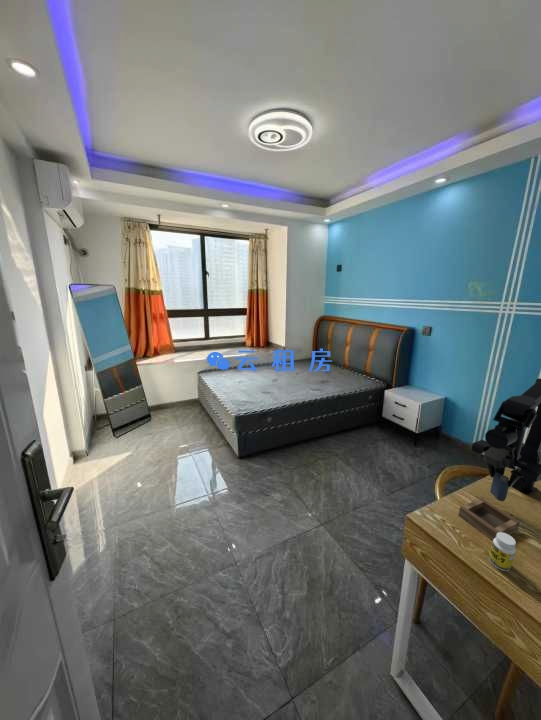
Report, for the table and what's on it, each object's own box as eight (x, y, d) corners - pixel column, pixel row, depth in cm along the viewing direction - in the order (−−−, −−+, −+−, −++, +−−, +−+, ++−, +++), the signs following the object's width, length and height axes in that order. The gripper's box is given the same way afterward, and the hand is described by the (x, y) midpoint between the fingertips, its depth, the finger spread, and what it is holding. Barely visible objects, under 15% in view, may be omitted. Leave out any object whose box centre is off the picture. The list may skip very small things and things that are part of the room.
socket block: (480, 505, 98) (481, 497, 97) (517, 529, 88) (519, 521, 87) (458, 515, 94) (459, 507, 93) (495, 542, 84) (497, 533, 83)
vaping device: (496, 490, 98) (503, 459, 95) (507, 502, 93) (514, 469, 90) (488, 490, 98) (495, 459, 95) (498, 501, 93) (505, 469, 90)
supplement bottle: (484, 558, 79) (490, 533, 77) (495, 552, 81) (502, 528, 78) (503, 574, 75) (510, 548, 72) (515, 568, 76) (522, 542, 74)
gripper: (464, 430, 96) (456, 471, 100) (531, 461, 79) (519, 508, 83) (485, 424, 100) (477, 463, 104) (553, 452, 83) (540, 497, 87)
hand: (500, 481), depth 94 cm, fingers closed on vaping device, 5 cm apart
